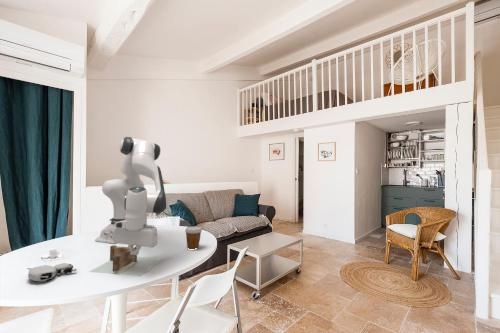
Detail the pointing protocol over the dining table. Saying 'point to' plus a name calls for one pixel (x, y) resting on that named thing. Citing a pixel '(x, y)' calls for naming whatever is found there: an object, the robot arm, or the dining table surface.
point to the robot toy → (49, 271)
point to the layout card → (129, 267)
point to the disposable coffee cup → (193, 236)
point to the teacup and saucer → (51, 255)
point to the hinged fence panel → (123, 260)
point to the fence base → (118, 251)
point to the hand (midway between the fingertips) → (134, 254)
